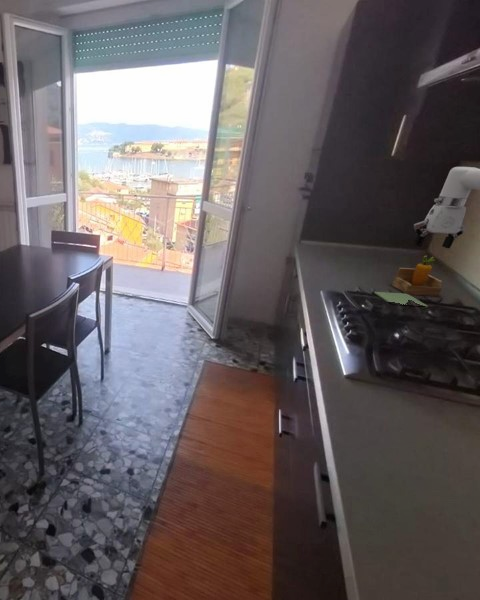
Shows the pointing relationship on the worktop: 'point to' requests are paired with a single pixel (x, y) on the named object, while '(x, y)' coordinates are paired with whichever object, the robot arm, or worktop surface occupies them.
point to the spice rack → (405, 285)
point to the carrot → (422, 272)
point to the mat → (398, 298)
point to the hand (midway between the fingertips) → (431, 246)
